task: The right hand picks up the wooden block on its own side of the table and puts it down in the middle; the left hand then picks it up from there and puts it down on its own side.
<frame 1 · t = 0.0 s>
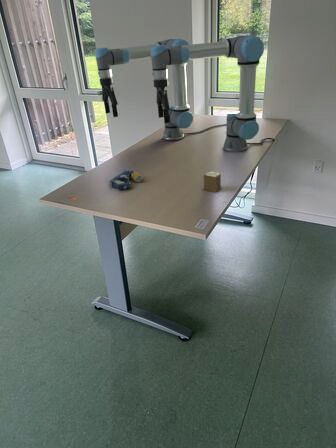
left hand: (111, 114, 206), 28 cm above the table, tool pointing down, fingers open, 13 cm apart
right hand: (164, 120, 185), 28 cm above the table, tool pointing down, fingers open, 13 cm apart
block: (212, 188, 170), on the table
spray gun: (127, 182, 185), on the table
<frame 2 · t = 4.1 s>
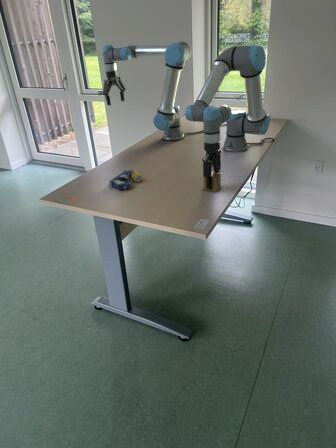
left hand: (116, 103, 238), 28 cm above the table, tool pointing down, fingers open, 13 cm apart
right hand: (212, 186, 169), 1 cm above the table, tool pointing down, fingers closed on block, 5 cm apart
block: (212, 188, 170), on the table, touching right hand
everything else where it was.
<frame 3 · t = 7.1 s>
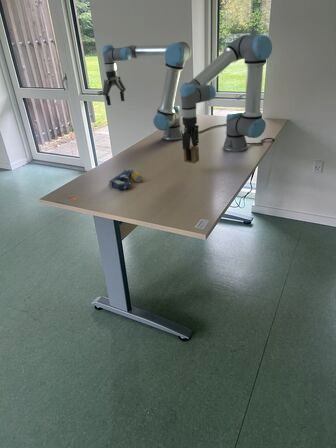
left hand: (116, 103, 238), 28 cm above the table, tool pointing down, fingers open, 13 cm apart
right hand: (191, 158, 187), 8 cm above the table, tool pointing down, fingers closed on block, 5 cm apart
block: (191, 161, 188), point 6 cm above the table, touching right hand
everything else where it was.
when the right hand's fingers open (3 cm above the table, at t = 10.2 s): block drops 2 cm, on the table.
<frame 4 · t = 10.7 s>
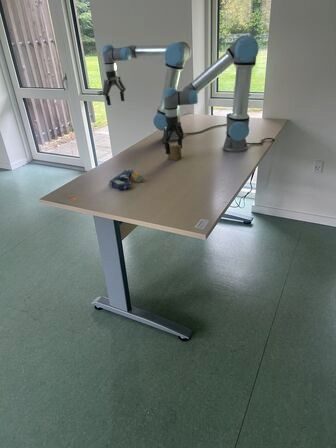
left hand: (116, 103, 238), 28 cm above the table, tool pointing down, fingers open, 13 cm apart
right hand: (174, 151, 210), 5 cm above the table, tool pointing down, fingers open, 12 cm apart
block: (174, 158, 212), on the table
everything else where it was.
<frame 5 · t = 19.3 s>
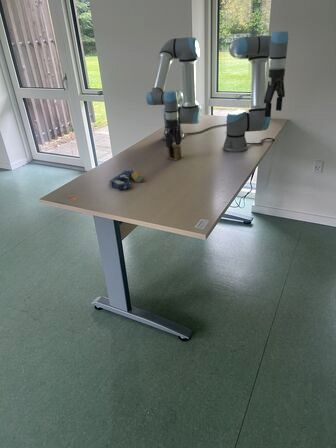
left hand: (174, 155, 211), 1 cm above the table, tool pointing down, fingers closed on block, 5 cm apart
right hand: (273, 113, 171), 30 cm above the table, tool pointing down, fingers open, 13 cm apart
block: (174, 158, 212), on the table, touching left hand
everything else where it was.
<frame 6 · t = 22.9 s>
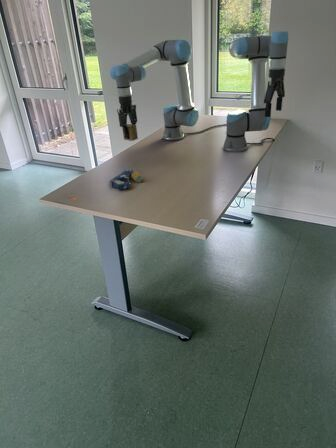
left hand: (130, 136, 198), 18 cm above the table, tool pointing down, fingers closed on block, 5 cm apart
right hand: (273, 113, 171), 30 cm above the table, tool pointing down, fingers open, 13 cm apart
block: (130, 139, 199), point 16 cm above the table, touching left hand
everything else where it was.
when the left hand's fingers open (3 cm above the table, at t = 26.3 s): block drops 2 cm, on the table.
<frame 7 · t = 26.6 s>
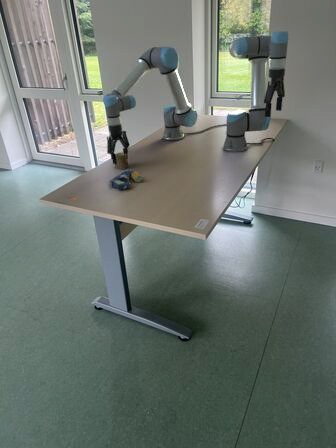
left hand: (120, 161, 204), 4 cm above the table, tool pointing down, fingers open, 9 cm apart
right hand: (273, 113, 171), 30 cm above the table, tool pointing down, fingers open, 13 cm apart
block: (121, 167, 206), on the table
everything else where it was.
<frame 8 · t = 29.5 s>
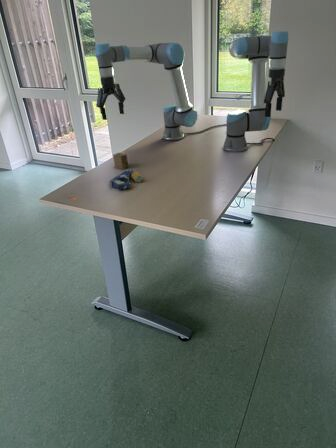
left hand: (113, 116, 190), 31 cm above the table, tool pointing down, fingers open, 13 cm apart
right hand: (273, 113, 171), 30 cm above the table, tool pointing down, fingers open, 13 cm apart
nothing on the table moved.
at the end: block inside the target area (0.1 cm from its centre), on the table; block tilted 0°; the two hands never held the block at the same time; the left hand is holding nothing; the right hand is holding nothing; block at rest at the end (0.0 cm/s) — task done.
